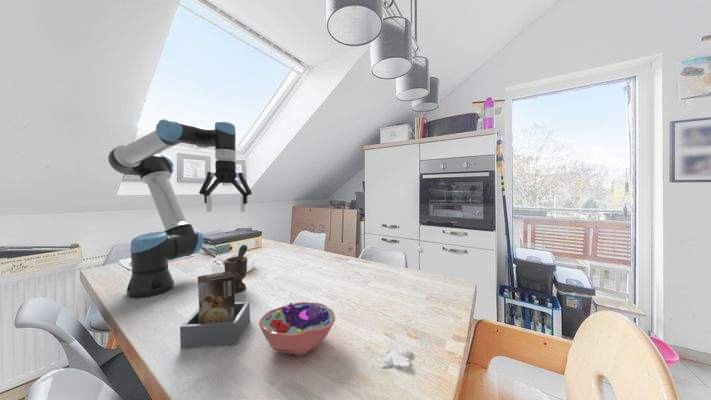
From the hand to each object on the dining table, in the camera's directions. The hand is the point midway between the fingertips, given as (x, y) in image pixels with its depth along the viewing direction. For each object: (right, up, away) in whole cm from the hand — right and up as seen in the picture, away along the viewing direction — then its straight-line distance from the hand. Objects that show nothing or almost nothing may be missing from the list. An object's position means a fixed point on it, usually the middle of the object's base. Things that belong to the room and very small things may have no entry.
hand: (226, 211), depth 105 cm
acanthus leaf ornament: (+65, -36, -42) cm, 85 cm away
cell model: (+39, -35, -37) cm, 64 cm away
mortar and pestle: (+6, -33, -1) cm, 33 cm away
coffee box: (+14, -34, -31) cm, 48 cm away
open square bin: (+14, -34, -31) cm, 48 cm away
